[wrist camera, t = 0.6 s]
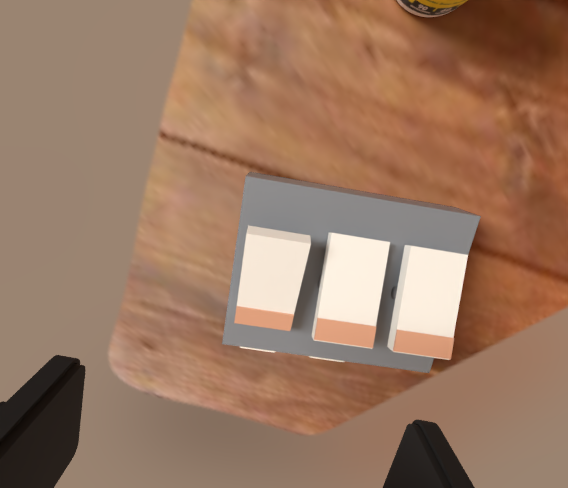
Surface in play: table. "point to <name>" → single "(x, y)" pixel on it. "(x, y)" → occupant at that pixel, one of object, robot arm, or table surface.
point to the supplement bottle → (430, 6)
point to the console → (318, 223)
